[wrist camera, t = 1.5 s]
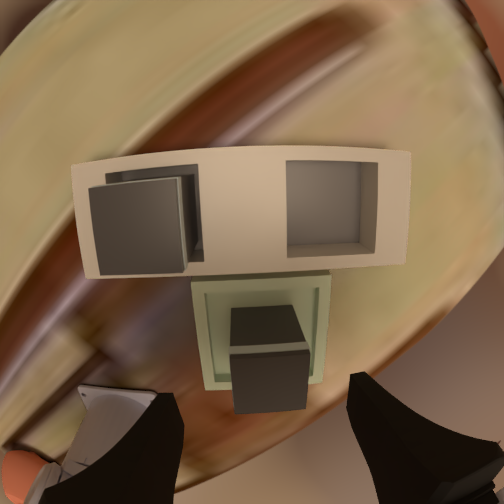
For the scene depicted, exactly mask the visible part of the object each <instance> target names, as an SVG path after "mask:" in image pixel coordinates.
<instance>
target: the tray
mask: <svg viewBox="0 0 504 504" xmlns="http://www.w3.org/2000/svg"><path fill="white" fill-rule="evenodd" d="M331 281H332V275H331V273H330V272H329V271H328V270H327V269H323V270H306V271H288V272H268V273H247V274H225V275H201V276H193V277H192V279H191V291H192V299H193V308H194V316H195V324H196V331H197V339H198V346H199V353H200V359H201V366H202V373H203V379H204V385H205V390H232V385H231V374H230V364H229V346H230V325H231V308H239V307H259V306H277V305H293V308H294V310H295V313H296V316H297V318H298V321H299V324H300V326H301V329H302V332H303V334H304V337H305V340H306V341H307V342H308V344H309V347H310V353H311V357H310V369H309V380H308V384H315V383H322V380H323V372H324V363H325V354H326V344H327V334H328V323H329V310H330V297H331Z"/></svg>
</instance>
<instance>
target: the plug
mask: <svg viewBox="0 0 504 504" xmlns="http://www.w3.org/2000/svg"><path fill="white" fill-rule="evenodd" d="M310 357H311V353H310V347H309V344H308V342H307V341H306V340H305V337H304V334H303V332H302V329H301V326H300V324H299V321H298V318H297V316H296V313H295V310H294V308H293V305H277V306H259V307H239V308H231V325H230V346H229V364H230V374H231V385H232V395H233V405H234V411H235V414H251V413H267V412H280V411H291V410H300V409H306V401H307V391H308V380H309V369H310Z"/></svg>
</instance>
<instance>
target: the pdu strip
mask: <svg viewBox="0 0 504 504" xmlns="http://www.w3.org/2000/svg"><path fill="white" fill-rule="evenodd" d="M71 174H72V187H73V198H74V207H75V216H76V223H77V231H78V237H79V244H80V250H81V256H82V261H83V267H84V272H85V277H86V279H101V278H141V277H173V276H201V275H225V274H247V273H268V272H288V271H306V270H323V269H340V268H355V267H371V266H385V265H399V264H405V260H406V251H407V241H408V229H409V214H410V192H411V152H409V151H399V150H388V149H375V148H360V147H340V146H300V145H278V146H238V147H218V148H202V149H189V150H178V151H167V152H157V153H148V154H140V155H132V156H125V157H118V158H111V159H104V160H98V161H92V162H86V163H80V164H75V165H71ZM188 174H194V179H195V196H196V212H197V226H198V240H199V241H198V243H197V245H196V247H195V249H194V251H193V253H192V255H191V257H190V259H189V261H188V267H187V269H186V271H184V272H183V273H171V274H141V275H106V276H100V272H99V266H98V261H97V255H96V248H95V242H94V235H93V228H92V220H91V212H90V202H89V192H88V188H91V186H96V185H103V184H111V183H116V182H122V181H127V180H134V179H143V178H153V177H164V176H175V175H188Z"/></svg>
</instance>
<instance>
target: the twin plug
mask: <svg viewBox="0 0 504 504" xmlns="http://www.w3.org/2000/svg"><path fill="white" fill-rule="evenodd" d="M88 192H89V202H90V212H91V220H92V228H93V235H94V242H95V248H96V255H97V261H98V266H99V272H100V276H106V275H141V274H171V273H183V272H184V271H186V269H187V267H188V261H189V259H190V257H191V255H192V253H193V251H194V249H195V247H196V245H197V243H198V241H199V240H198V226H197V212H196V196H195V179H194V174H188V175H175V176H164V177H153V178H143V179H134V180H127V181H122V182H116V183H111V184H103V185H96V186H91V188H88Z"/></svg>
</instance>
